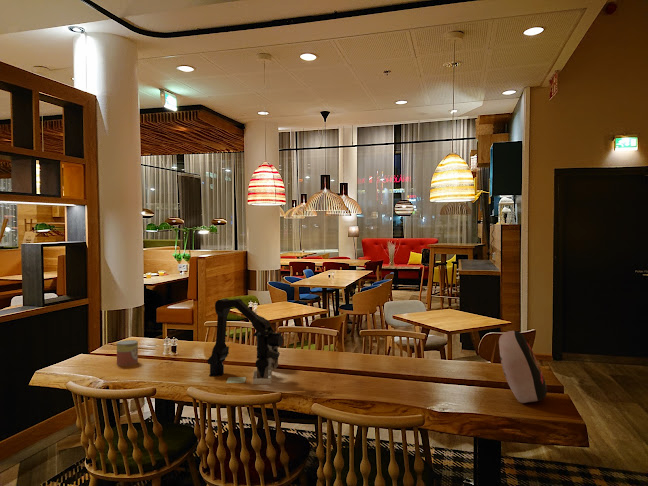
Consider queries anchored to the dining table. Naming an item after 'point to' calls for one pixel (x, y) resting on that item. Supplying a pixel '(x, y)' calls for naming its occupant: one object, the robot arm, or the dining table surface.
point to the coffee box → (272, 362)
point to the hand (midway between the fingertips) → (262, 376)
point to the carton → (262, 381)
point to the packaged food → (521, 368)
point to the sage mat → (236, 380)
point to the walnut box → (264, 374)
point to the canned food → (127, 352)
